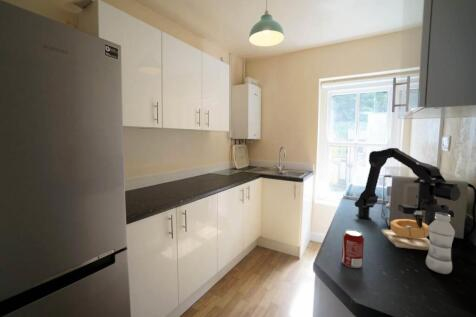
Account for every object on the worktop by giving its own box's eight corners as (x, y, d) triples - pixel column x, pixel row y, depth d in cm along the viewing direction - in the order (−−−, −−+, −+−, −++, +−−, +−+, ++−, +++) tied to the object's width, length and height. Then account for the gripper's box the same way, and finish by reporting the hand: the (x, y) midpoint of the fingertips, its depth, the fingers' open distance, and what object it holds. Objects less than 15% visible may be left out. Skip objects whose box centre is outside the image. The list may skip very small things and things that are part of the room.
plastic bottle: (450, 279, 71) (455, 219, 69) (423, 269, 76) (427, 213, 74) (452, 272, 75) (458, 215, 73) (427, 263, 80) (431, 210, 78)
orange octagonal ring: (387, 226, 105) (386, 219, 105) (417, 226, 102) (417, 219, 102) (400, 238, 93) (399, 230, 93) (435, 238, 90) (435, 229, 90)
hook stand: (381, 231, 108) (381, 218, 107) (418, 235, 104) (419, 222, 103) (396, 246, 92) (397, 232, 92) (441, 251, 89) (442, 236, 88)
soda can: (365, 271, 75) (367, 237, 74) (344, 268, 76) (345, 235, 75) (358, 260, 82) (360, 229, 81) (339, 258, 83) (340, 227, 82)
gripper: (411, 198, 89) (408, 234, 91) (466, 201, 85) (462, 239, 86) (398, 191, 100) (396, 224, 102) (446, 194, 96) (443, 228, 97)
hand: (423, 229), depth 96 cm, fingers closed on orange octagonal ring, 2 cm apart
